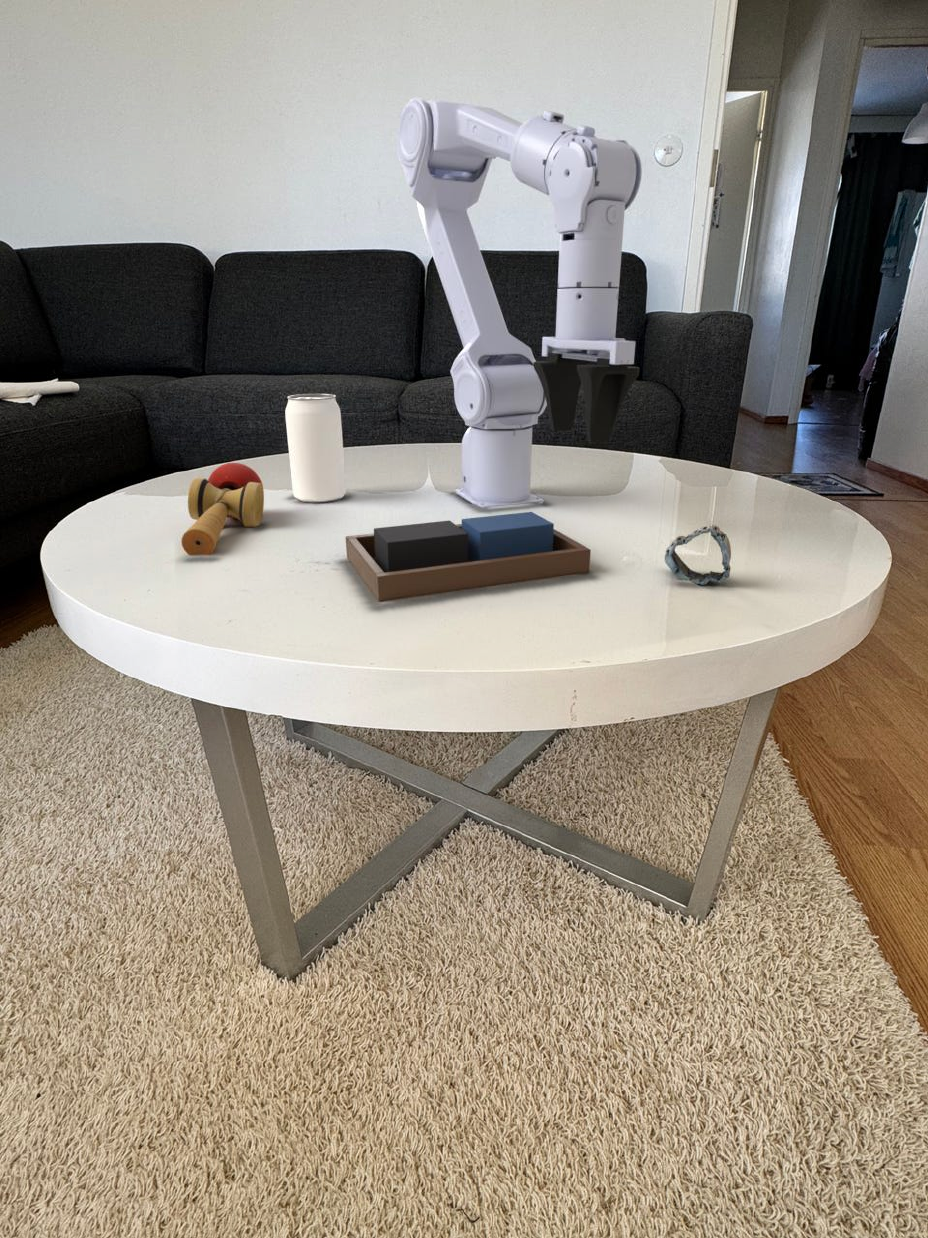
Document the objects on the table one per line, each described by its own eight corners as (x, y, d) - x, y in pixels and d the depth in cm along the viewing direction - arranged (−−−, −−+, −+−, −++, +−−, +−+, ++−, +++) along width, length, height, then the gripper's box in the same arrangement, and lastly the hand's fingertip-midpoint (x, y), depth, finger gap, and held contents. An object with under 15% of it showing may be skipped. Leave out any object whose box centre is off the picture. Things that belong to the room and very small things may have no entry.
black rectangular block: (375, 566, 63) (373, 528, 62) (450, 557, 66) (449, 520, 64) (389, 583, 59) (387, 542, 58) (468, 572, 62) (468, 533, 60)
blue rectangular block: (461, 556, 66) (461, 518, 65) (530, 547, 68) (531, 511, 67) (479, 571, 62) (479, 532, 61) (552, 561, 64) (554, 523, 63)
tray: (347, 562, 66) (345, 536, 65) (530, 540, 72) (531, 516, 71) (379, 607, 56) (377, 576, 55) (589, 577, 62) (591, 549, 61)
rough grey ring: (696, 590, 63) (661, 546, 62) (748, 559, 60) (711, 513, 59) (690, 605, 60) (653, 560, 60) (744, 574, 57) (705, 526, 57)
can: (335, 504, 86) (327, 399, 81) (284, 501, 87) (273, 398, 82) (353, 492, 92) (347, 393, 87) (306, 489, 93) (297, 392, 88)
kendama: (253, 570, 68) (283, 498, 83) (230, 508, 65) (265, 445, 80) (174, 585, 68) (218, 511, 84) (146, 524, 65) (198, 459, 80)
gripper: (669, 286, 63) (654, 444, 68) (586, 290, 75) (579, 423, 81) (599, 286, 61) (589, 449, 66) (525, 290, 73) (522, 427, 78)
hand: (579, 435), depth 73 cm, fingers open, 7 cm apart
